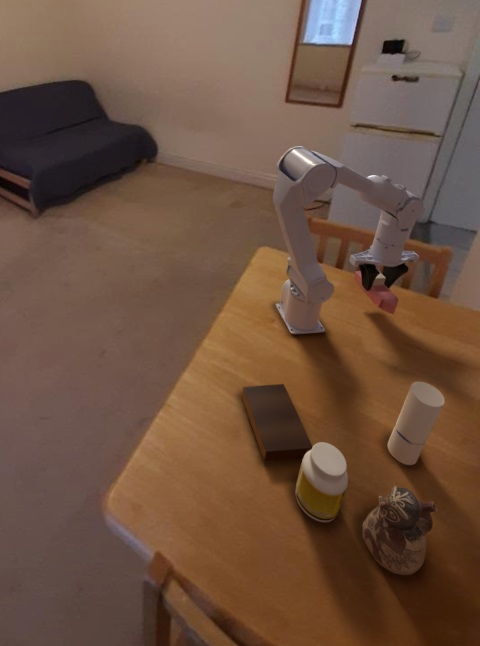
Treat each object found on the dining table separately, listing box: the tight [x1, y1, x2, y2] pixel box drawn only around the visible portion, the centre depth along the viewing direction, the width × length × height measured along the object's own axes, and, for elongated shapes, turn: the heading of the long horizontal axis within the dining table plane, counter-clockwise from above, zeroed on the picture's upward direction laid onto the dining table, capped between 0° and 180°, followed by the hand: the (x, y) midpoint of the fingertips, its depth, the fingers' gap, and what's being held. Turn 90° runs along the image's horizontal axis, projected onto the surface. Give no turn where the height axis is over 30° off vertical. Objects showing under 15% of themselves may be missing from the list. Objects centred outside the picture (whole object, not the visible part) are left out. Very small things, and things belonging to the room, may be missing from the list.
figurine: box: [362, 485, 438, 576], centre depth 55 cm, size 7×7×12 cm
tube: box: [387, 380, 445, 466], centre depth 66 cm, size 4×4×15 cm
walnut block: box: [241, 383, 313, 463], centre depth 73 cm, size 12×8×3 cm, turn 3°
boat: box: [352, 269, 399, 315], centre depth 93 cm, size 12×4×5 cm, turn 3°
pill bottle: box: [294, 441, 349, 523], centre depth 61 cm, size 6×6×11 cm
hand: (375, 287), depth 95 cm, fingers closed on boat, 4 cm apart
